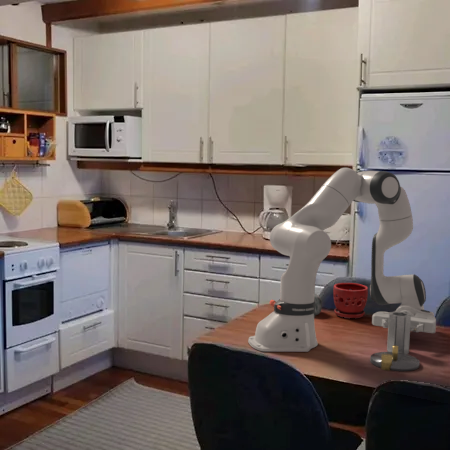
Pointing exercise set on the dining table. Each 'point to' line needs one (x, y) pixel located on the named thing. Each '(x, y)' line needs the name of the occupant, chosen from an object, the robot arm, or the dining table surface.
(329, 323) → the dining table surface
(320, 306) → the spool
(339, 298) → the plant pot
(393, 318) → the octagonal pipe segment
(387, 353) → the grey pot lid
